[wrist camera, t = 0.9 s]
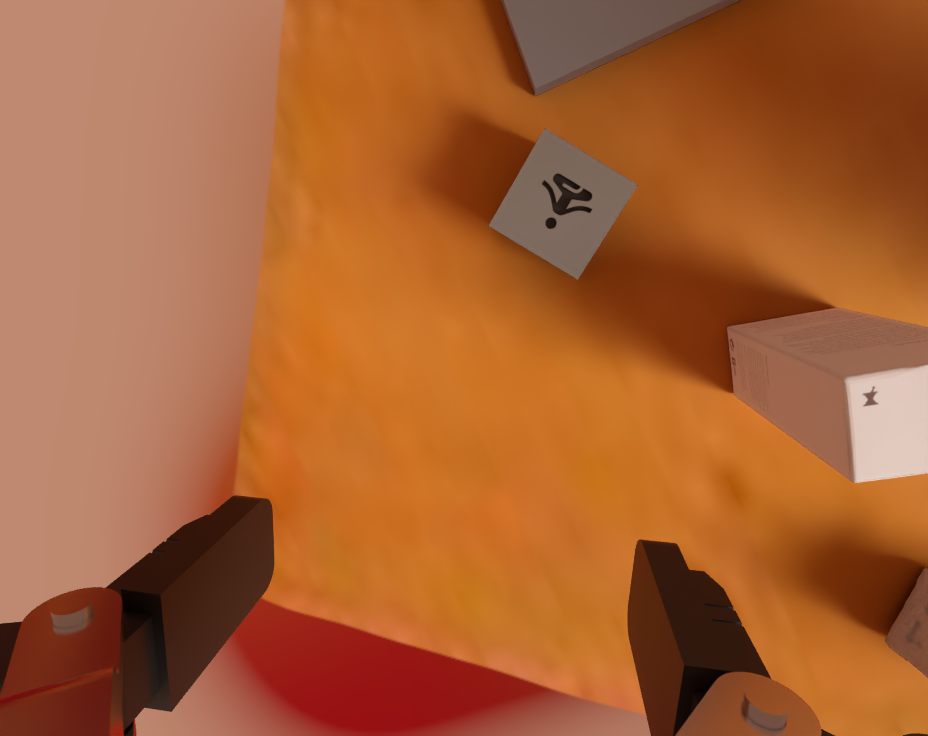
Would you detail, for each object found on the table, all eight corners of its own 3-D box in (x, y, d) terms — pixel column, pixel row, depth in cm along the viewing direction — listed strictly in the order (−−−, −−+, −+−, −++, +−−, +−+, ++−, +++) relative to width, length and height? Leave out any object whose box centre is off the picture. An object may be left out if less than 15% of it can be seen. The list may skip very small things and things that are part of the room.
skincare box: (732, 397, 32) (847, 487, 20) (724, 325, 31) (840, 374, 19) (846, 380, 31) (1036, 463, 19) (841, 304, 30) (1037, 344, 18)
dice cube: (620, 194, 30) (638, 184, 25) (570, 274, 31) (577, 280, 27) (542, 146, 30) (544, 128, 25) (495, 228, 31) (488, 225, 26)
